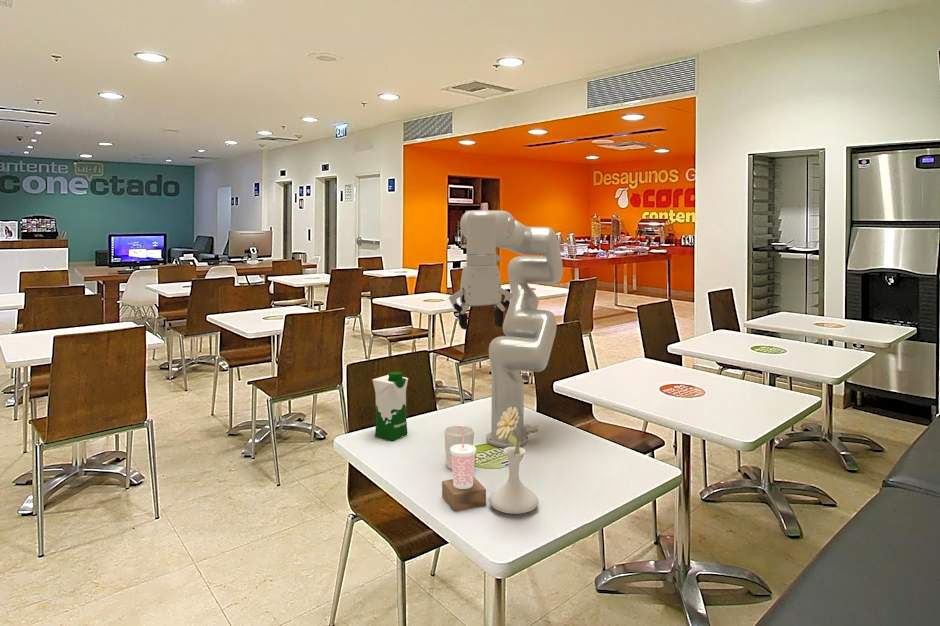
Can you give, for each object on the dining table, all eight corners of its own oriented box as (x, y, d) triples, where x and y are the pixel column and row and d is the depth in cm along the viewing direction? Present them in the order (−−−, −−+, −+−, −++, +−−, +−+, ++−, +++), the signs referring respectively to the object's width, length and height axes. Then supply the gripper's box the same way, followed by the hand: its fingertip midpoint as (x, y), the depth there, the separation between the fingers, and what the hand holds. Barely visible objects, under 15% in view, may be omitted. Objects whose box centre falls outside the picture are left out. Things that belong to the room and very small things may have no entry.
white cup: (452, 473, 165) (452, 437, 164) (439, 463, 172) (439, 427, 171) (478, 468, 169) (479, 432, 167) (465, 458, 176) (465, 423, 174)
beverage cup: (446, 488, 148) (446, 430, 145) (455, 477, 153) (455, 422, 151) (471, 492, 146) (471, 433, 143) (479, 481, 151) (479, 425, 149)
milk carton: (392, 443, 187) (391, 377, 184) (370, 436, 192) (368, 372, 189) (411, 434, 194) (411, 371, 191) (390, 428, 199) (388, 366, 196)
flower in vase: (490, 495, 153) (491, 395, 149) (537, 497, 152) (540, 396, 148) (486, 521, 140) (487, 412, 136) (538, 523, 139) (541, 414, 135)
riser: (473, 491, 155) (473, 475, 154) (485, 505, 148) (486, 489, 147) (442, 496, 152) (442, 480, 151) (453, 511, 145) (453, 494, 144)
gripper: (505, 258, 167) (505, 322, 170) (444, 260, 161) (444, 327, 164) (518, 260, 160) (517, 327, 163) (454, 263, 154) (455, 332, 157)
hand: (481, 327), depth 163 cm, fingers open, 9 cm apart
